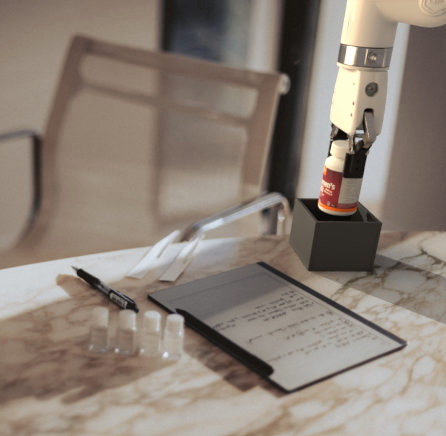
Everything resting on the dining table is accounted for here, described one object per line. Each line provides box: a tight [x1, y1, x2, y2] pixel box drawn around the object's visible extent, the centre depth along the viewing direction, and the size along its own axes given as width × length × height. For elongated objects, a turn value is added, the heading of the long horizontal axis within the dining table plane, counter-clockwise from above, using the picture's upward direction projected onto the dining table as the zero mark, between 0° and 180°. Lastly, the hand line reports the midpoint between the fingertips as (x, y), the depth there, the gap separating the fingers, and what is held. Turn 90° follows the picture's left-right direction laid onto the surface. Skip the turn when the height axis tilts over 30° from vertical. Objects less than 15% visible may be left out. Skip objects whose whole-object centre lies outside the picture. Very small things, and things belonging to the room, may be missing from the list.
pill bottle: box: [318, 139, 364, 216], centre depth 101 cm, size 6×6×11 cm
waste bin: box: [288, 197, 383, 272], centre depth 105 cm, size 11×11×9 cm
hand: (344, 169), depth 101 cm, fingers closed on pill bottle, 6 cm apart
